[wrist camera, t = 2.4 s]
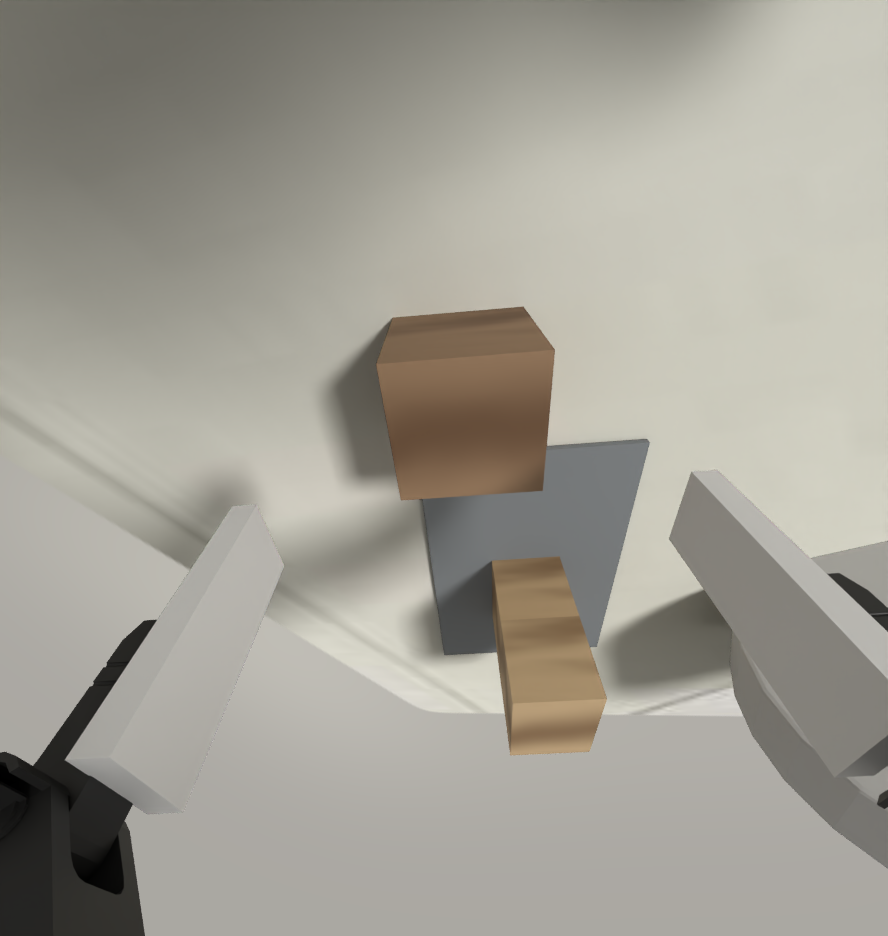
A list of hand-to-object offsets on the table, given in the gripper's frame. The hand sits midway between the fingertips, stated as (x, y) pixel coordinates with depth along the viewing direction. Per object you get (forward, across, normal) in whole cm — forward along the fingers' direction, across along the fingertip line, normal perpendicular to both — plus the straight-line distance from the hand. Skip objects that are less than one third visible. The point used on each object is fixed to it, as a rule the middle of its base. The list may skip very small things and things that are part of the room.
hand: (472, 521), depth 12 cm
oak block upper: (+6, +4, -18) cm, 19 cm away
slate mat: (+11, +4, -16) cm, 20 cm away
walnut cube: (+11, 0, 0) cm, 11 cm away
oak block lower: (+11, +4, -18) cm, 21 cm away
